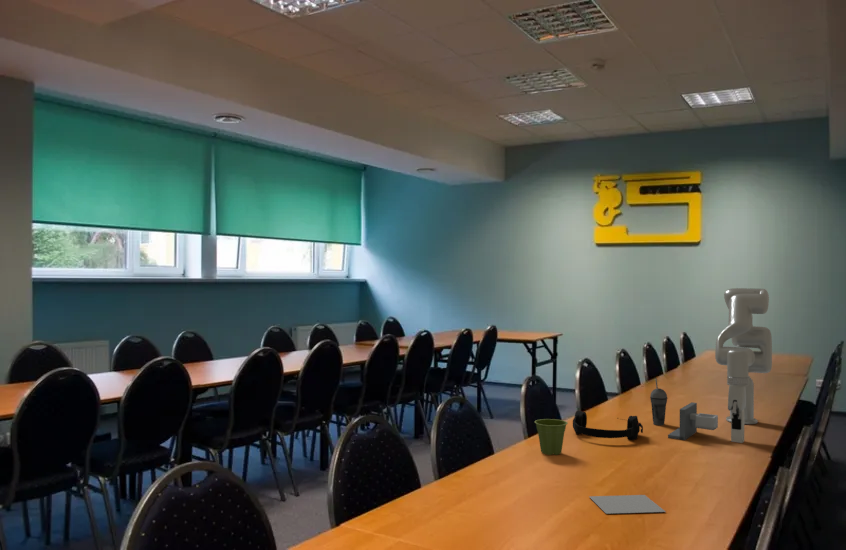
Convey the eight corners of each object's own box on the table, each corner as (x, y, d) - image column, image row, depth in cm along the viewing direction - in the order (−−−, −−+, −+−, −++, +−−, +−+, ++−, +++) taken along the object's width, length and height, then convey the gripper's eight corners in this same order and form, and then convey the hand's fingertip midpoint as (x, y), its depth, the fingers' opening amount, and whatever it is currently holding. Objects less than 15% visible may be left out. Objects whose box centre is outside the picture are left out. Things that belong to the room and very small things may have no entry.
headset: (630, 429, 281) (630, 408, 281) (655, 444, 254) (655, 421, 254) (565, 429, 279) (565, 408, 279) (583, 444, 253) (583, 421, 253)
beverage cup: (668, 426, 284) (668, 379, 284) (651, 425, 286) (651, 379, 286) (666, 422, 291) (666, 377, 291) (648, 422, 293) (648, 376, 293)
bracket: (680, 429, 278) (680, 401, 278) (720, 435, 269) (721, 405, 269) (667, 437, 264) (667, 407, 264) (710, 443, 254) (710, 412, 254)
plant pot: (569, 450, 244) (569, 419, 244) (565, 458, 233) (565, 426, 233) (537, 447, 248) (537, 417, 248) (531, 455, 237) (531, 424, 237)
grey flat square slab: (578, 488, 201) (578, 486, 201) (657, 486, 203) (657, 484, 203) (606, 516, 178) (606, 513, 178) (695, 513, 180) (695, 510, 180)
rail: (733, 439, 261) (733, 404, 262) (744, 441, 259) (744, 405, 259) (731, 441, 258) (731, 405, 258) (742, 443, 256) (742, 406, 256)
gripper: (731, 377, 268) (731, 423, 268) (722, 383, 254) (722, 430, 254) (752, 379, 263) (752, 425, 263) (743, 385, 250) (743, 433, 250)
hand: (737, 427), depth 259 cm, fingers closed on rail, 4 cm apart
